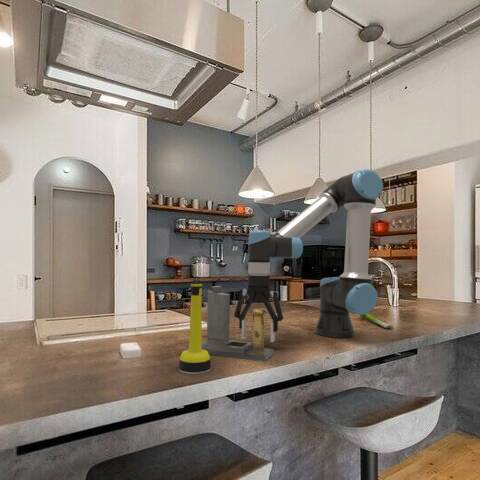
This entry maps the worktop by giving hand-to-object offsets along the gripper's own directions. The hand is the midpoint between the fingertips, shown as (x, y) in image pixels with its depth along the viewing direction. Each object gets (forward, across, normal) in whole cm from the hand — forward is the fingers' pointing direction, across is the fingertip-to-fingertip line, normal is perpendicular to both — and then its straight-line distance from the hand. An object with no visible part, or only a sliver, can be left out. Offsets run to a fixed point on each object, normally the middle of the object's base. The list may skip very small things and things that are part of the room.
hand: (258, 339), depth 123 cm
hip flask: (+3, +18, -5) cm, 19 cm away
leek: (+3, -37, -67) cm, 77 cm away
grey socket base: (+3, +4, +10) cm, 11 cm away
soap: (+3, +34, +24) cm, 42 cm away
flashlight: (+3, +9, +29) cm, 31 cm away
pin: (+3, 0, 0) cm, 3 cm away
